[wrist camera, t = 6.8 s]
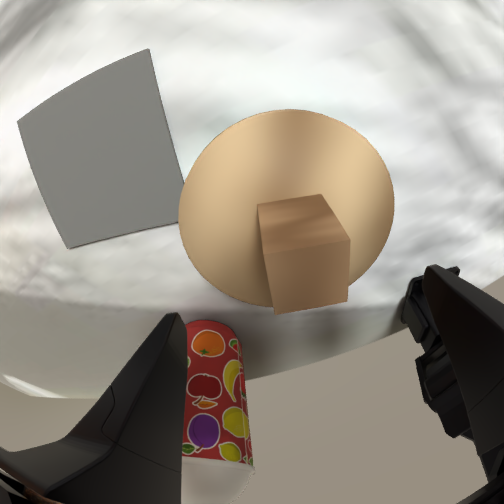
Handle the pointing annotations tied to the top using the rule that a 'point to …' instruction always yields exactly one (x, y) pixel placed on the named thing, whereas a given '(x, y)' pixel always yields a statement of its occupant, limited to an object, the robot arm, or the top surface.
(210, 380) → the smoothie
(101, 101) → the mat
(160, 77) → the top surface
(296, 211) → the lid
